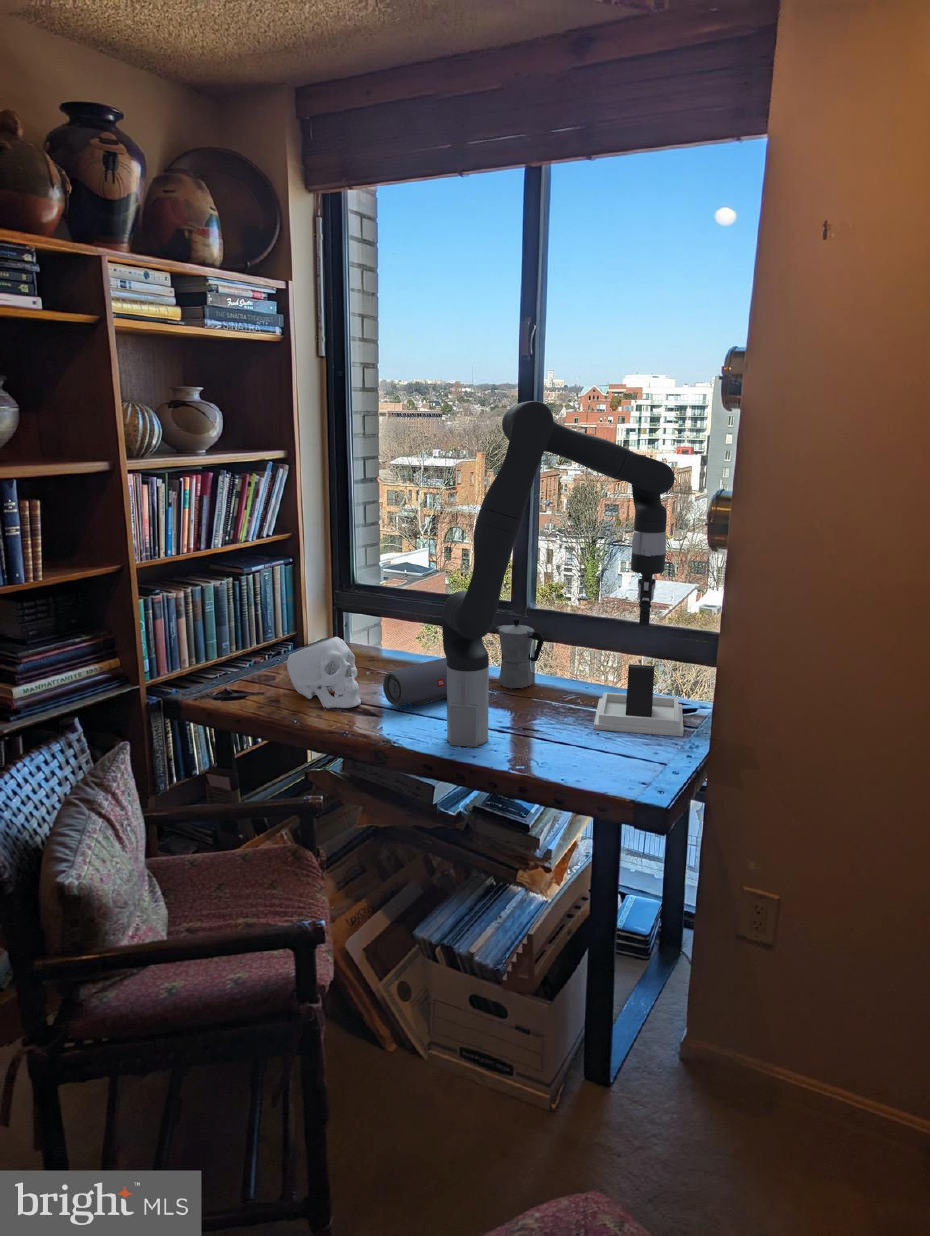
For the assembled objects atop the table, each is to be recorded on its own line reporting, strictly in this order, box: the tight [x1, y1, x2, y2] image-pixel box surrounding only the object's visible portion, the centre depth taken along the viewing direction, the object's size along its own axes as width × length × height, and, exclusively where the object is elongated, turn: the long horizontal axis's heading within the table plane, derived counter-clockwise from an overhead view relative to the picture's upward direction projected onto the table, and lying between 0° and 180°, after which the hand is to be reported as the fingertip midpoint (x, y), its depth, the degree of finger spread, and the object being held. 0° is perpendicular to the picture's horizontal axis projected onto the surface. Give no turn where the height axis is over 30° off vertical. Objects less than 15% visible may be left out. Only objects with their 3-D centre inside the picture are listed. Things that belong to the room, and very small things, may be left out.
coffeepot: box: [495, 617, 545, 690], centre depth 223 cm, size 15×9×18 cm, turn 49°
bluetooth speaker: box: [382, 657, 447, 707], centre depth 212 cm, size 23×9×10 cm, turn 129°
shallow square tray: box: [593, 691, 684, 737], centre depth 200 cm, size 18×20×3 cm
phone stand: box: [626, 663, 656, 718], centre depth 198 cm, size 9×6×12 cm, turn 166°
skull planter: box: [286, 636, 362, 709], centre depth 213 cm, size 14×20×19 cm
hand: (644, 620), depth 194 cm, fingers open, 8 cm apart
